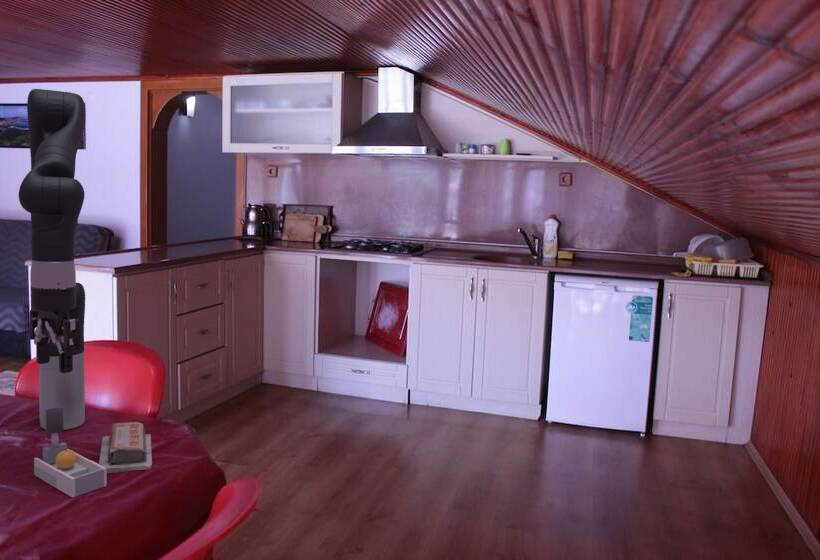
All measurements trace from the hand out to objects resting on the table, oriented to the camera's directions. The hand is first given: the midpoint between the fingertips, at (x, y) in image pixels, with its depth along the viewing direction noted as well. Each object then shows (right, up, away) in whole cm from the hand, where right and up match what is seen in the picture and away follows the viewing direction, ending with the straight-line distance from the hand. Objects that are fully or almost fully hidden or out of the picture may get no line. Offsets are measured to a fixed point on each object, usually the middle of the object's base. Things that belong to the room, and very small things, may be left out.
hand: (54, 367), depth 126 cm
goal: (+7, -22, -3) cm, 23 cm away
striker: (-1, -18, +2) cm, 19 cm away
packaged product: (+8, -21, +13) cm, 26 cm away
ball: (+2, -18, 0) cm, 18 cm away
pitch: (+1, -21, +1) cm, 21 cm away
